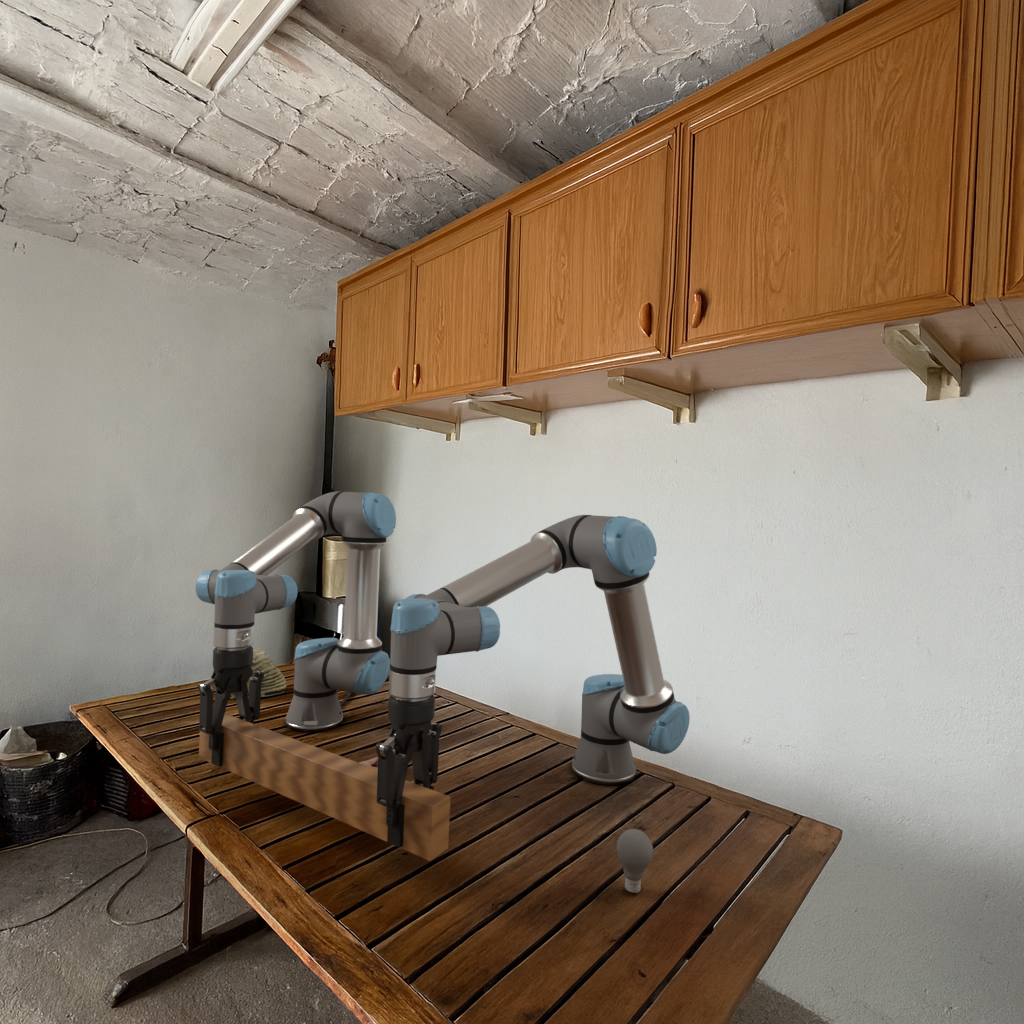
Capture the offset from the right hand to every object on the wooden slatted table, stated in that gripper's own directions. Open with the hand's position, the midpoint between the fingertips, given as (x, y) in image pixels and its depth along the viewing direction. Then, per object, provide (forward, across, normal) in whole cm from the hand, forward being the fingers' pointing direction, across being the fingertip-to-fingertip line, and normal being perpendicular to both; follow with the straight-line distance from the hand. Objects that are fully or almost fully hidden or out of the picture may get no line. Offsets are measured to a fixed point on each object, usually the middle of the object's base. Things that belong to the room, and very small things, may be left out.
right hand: (406, 836), depth 103 cm
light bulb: (+9, +22, -30) cm, 39 cm away
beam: (+1, 0, +24) cm, 24 cm away
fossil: (+9, +45, +104) cm, 114 cm away
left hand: (0, 0, +48) cm, 48 cm away
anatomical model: (+9, +28, +35) cm, 46 cm away
